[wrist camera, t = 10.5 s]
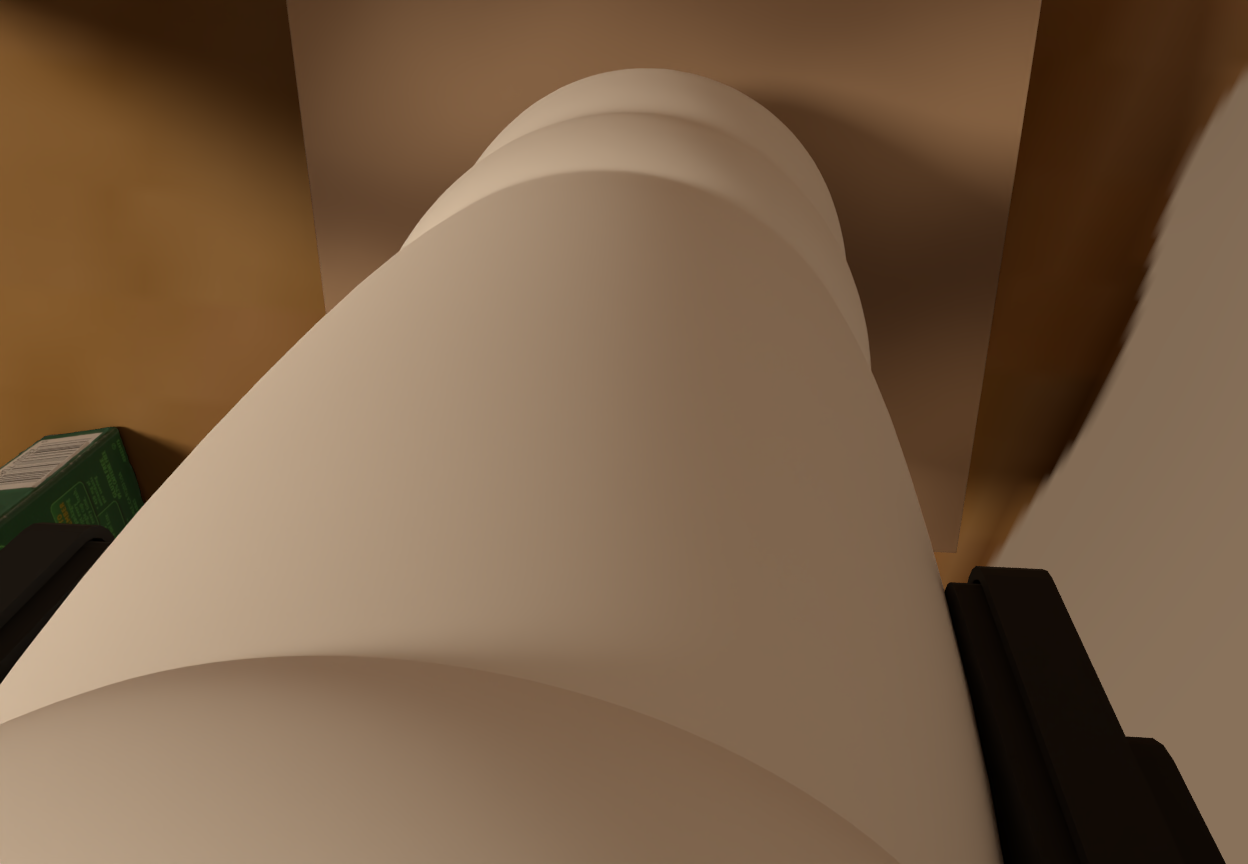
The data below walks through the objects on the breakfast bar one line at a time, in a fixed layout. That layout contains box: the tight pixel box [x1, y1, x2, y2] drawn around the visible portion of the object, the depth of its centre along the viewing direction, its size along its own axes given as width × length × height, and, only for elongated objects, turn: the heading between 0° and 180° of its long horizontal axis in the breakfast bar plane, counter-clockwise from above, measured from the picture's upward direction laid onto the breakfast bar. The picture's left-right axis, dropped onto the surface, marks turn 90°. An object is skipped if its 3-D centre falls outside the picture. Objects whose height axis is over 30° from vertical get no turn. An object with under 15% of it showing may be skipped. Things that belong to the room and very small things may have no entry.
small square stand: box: [286, 0, 1042, 553], centre depth 25 cm, size 14×14×7 cm
